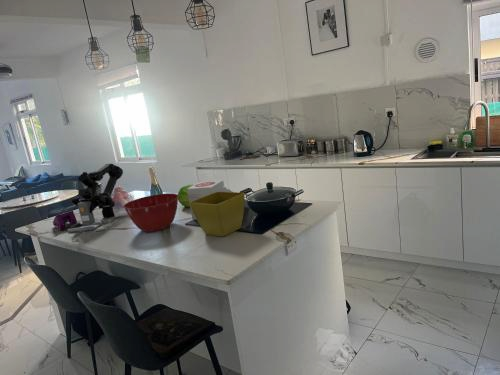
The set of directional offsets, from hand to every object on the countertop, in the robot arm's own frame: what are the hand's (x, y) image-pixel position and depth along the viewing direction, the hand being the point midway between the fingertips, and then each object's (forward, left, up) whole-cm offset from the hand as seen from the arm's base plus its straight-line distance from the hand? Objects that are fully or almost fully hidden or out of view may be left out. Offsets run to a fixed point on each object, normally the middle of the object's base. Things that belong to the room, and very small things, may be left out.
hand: (85, 213), depth 215 cm
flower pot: (-62, +65, -10) cm, 91 cm away
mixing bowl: (-35, +32, -10) cm, 49 cm away
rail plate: (+2, -2, -9) cm, 10 cm away
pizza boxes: (-69, +33, -10) cm, 78 cm away
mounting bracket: (+15, -20, -10) cm, 27 cm away
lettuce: (-62, +7, -10) cm, 64 cm away
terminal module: (0, -1, -7) cm, 7 cm away
